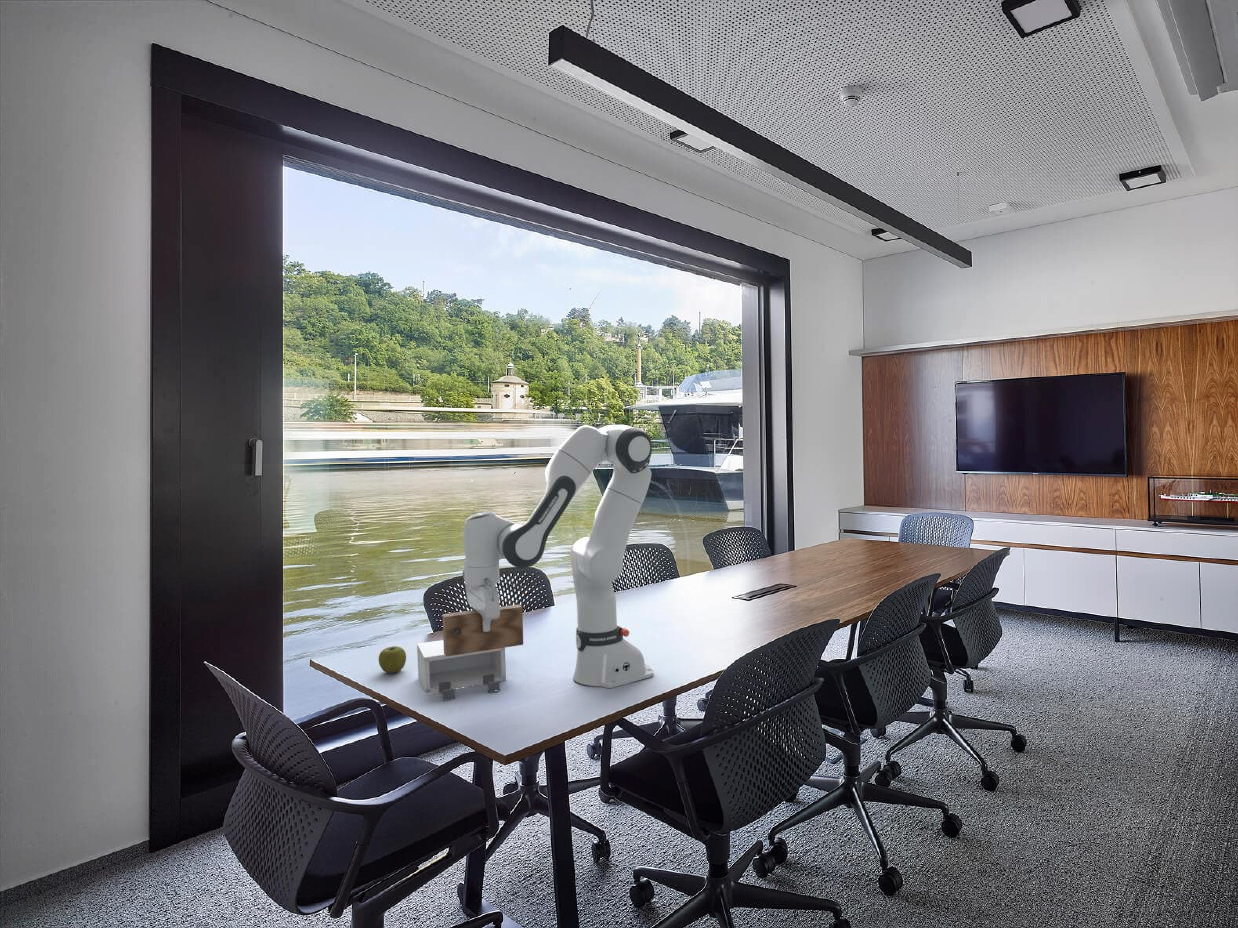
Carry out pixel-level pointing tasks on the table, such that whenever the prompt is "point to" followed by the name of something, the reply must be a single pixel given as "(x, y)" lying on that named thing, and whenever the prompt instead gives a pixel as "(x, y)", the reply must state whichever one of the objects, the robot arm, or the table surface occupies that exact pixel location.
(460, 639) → the door
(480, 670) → the cabinet
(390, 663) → the apple
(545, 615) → the table surface
